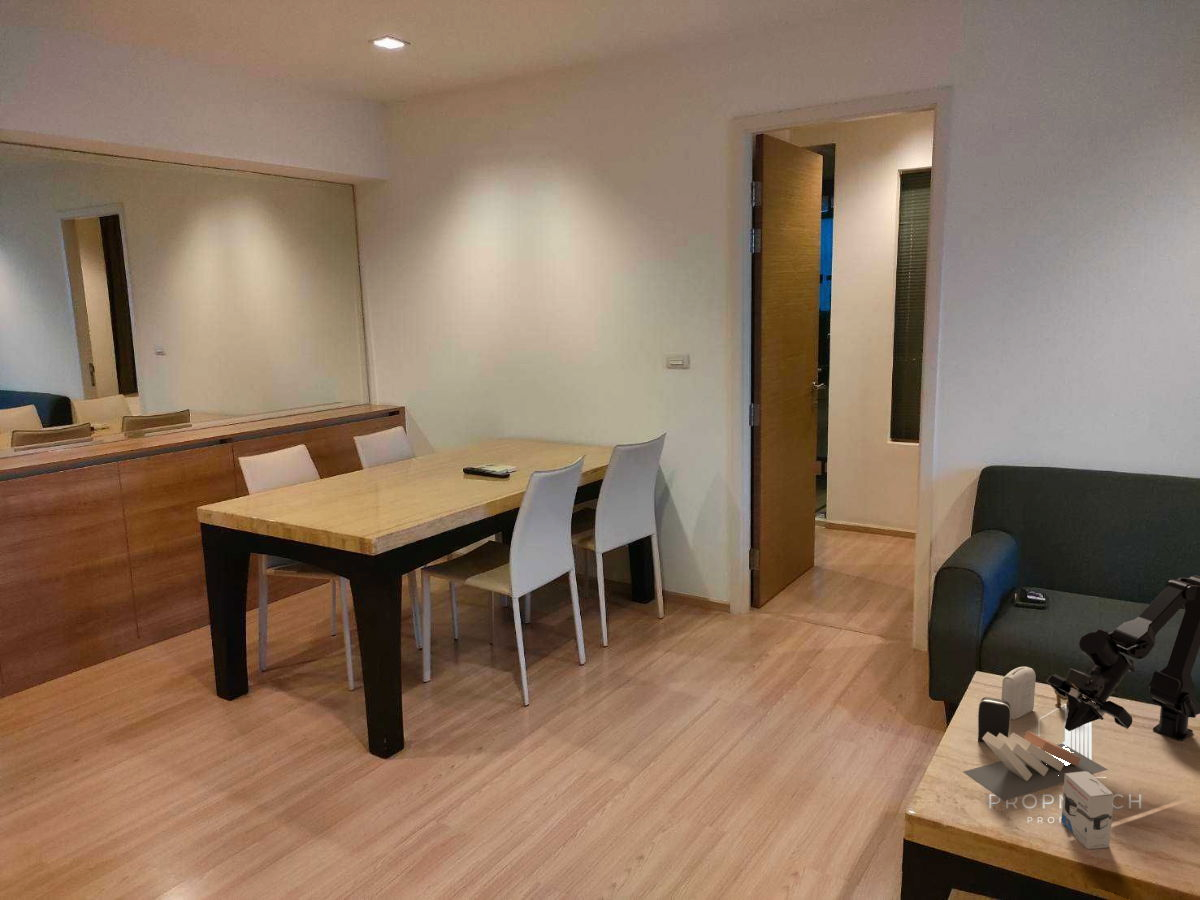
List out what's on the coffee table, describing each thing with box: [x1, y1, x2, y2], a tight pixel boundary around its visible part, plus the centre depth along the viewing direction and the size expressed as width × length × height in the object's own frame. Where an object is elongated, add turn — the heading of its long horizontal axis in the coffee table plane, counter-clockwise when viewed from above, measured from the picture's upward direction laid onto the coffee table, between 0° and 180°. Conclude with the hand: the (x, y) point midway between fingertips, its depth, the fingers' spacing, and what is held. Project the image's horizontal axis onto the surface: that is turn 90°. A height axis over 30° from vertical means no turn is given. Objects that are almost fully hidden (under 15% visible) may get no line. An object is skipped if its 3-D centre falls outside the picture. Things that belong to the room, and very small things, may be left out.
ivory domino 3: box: [1008, 732, 1064, 771], centre depth 189 cm, size 2×5×13 cm
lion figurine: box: [1054, 683, 1083, 710], centre depth 219 cm, size 15×5×9 cm, turn 141°
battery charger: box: [977, 696, 1011, 744], centre depth 201 cm, size 7×4×11 cm, turn 60°
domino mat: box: [963, 742, 1108, 802], centre depth 190 cm, size 30×12×1 cm, turn 110°
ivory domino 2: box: [997, 733, 1049, 776], centre depth 187 cm, size 2×5×13 cm
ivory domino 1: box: [982, 732, 1032, 781], centre depth 186 cm, size 2×5×13 cm
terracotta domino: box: [1023, 730, 1081, 766], centre depth 190 cm, size 2×5×13 cm
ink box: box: [1061, 771, 1115, 850], centre depth 167 cm, size 8×5×12 cm, turn 5°
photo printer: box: [1000, 666, 1037, 720], centre depth 215 cm, size 10×4×12 cm, turn 123°
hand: (1067, 729), depth 191 cm, fingers closed
